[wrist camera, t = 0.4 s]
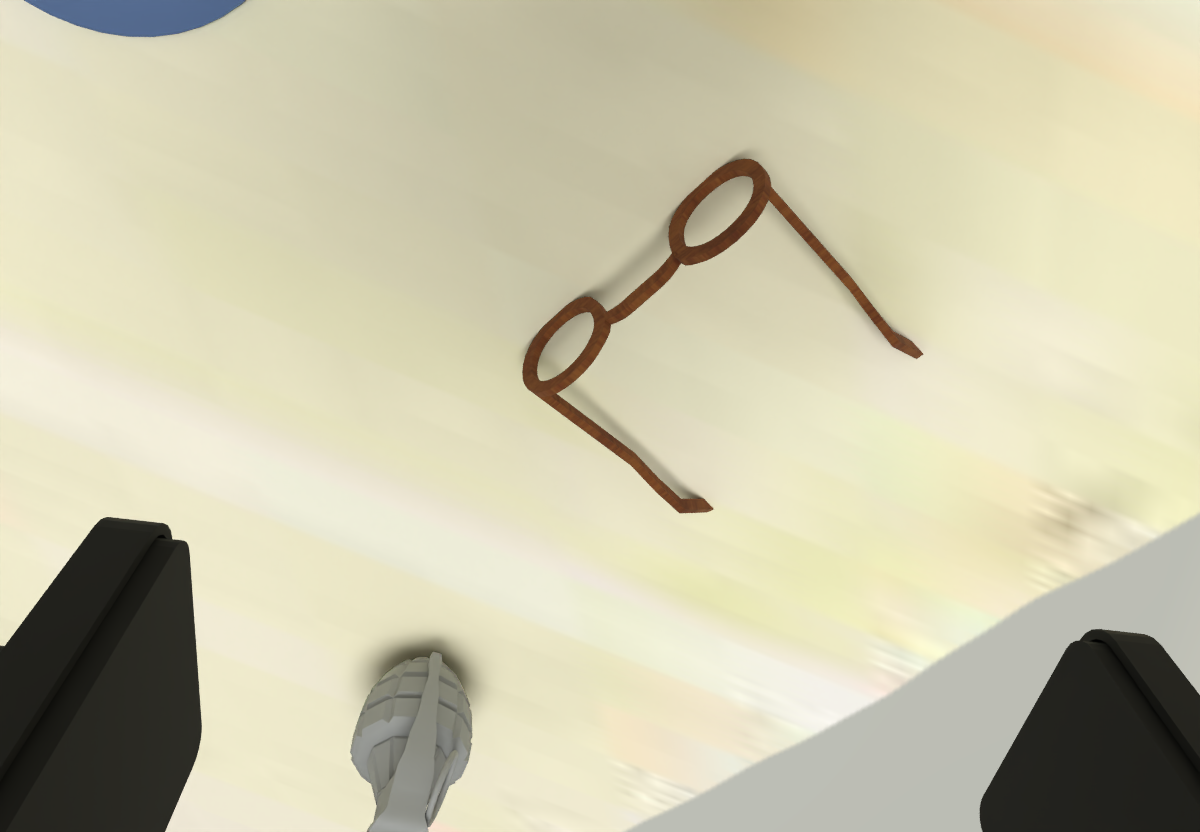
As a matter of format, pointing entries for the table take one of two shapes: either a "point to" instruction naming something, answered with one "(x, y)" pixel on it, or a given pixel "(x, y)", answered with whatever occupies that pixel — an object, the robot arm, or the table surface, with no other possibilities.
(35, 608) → the robot arm
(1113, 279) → the table surface
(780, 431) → the table surface
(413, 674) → the hand grenade
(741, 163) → the glasses
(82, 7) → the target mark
